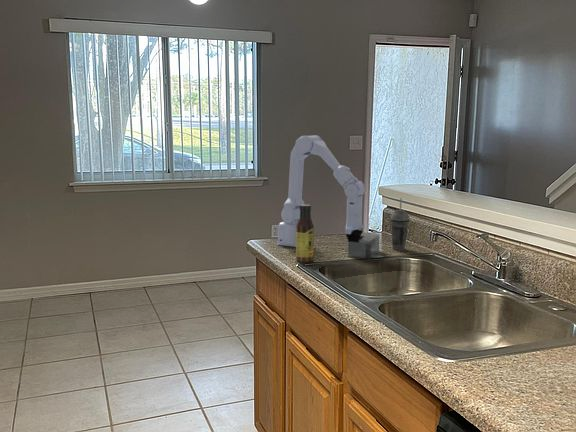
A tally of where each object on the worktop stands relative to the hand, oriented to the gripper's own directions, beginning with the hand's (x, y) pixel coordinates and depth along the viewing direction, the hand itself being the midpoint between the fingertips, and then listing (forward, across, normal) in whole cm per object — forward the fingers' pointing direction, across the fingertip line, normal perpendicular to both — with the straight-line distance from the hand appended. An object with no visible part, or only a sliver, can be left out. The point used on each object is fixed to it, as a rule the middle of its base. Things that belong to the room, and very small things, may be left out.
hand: (353, 249), depth 209 cm
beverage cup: (+1, +13, -14) cm, 19 cm away
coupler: (+1, 0, -4) cm, 4 cm away
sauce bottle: (+1, -19, +12) cm, 22 cm away
